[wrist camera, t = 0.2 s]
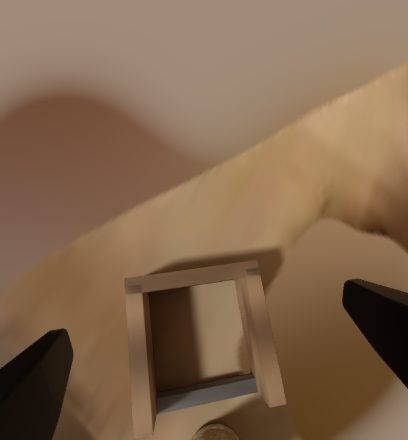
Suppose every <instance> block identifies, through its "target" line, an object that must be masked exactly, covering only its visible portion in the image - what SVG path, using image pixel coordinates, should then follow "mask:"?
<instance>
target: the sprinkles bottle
mask: <svg viewBox="0 0 408 440" xmlns="http://www.w3.org/2000/svg"><path fill="white" fill-rule="evenodd" d="M192 440H239V438H238V436H237V435H236V434H235V433H234V432H233V431H232V430H231V429H230V428H228V427H227V426H224V425H222V424H210V425H208V426H205V427H203V428H202V429H200V430H199V431H198V432H197V433H196V434H195V435H194V437H193V438H192Z"/></svg>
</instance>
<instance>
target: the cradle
mask: <svg viewBox="0 0 408 440" xmlns="http://www.w3.org/2000/svg"><path fill="white" fill-rule="evenodd" d="M124 280H125V297H126V313H127V330H128V347H129V364H130V380H131V397H132V414H133V430H134V439H137V438H141V437H146V436H150V435H153V432H154V426H155V421H156V415H157V414H160V413H165V412H169V411H174V410H178V409H183V408H187V407H192V406H197V405H201V404H206V403H210V402H215V401H219V400H224V399H229V398H233V397H238V396H242V395H247V394H251V393H256V392H258V393H259V394H260V395H261V397H262V398H263V399H264V400H265V402H266V403H267V404H268V405H269V407H270V408H272V407H276V406H280V405H285V404H287V403H286V399H285V394H284V389H283V384H282V379H281V374H280V369H279V365H278V360H277V355H276V350H275V345H274V340H273V336H272V330H271V325H270V320H269V315H268V311H267V306H266V301H265V296H264V291H263V286H262V281H261V276H260V272H259V267H258V262H257V260H252V261H245V262H238V263H231V264H224V265H217V266H209V267H202V268H195V269H188V270H181V271H174V272H167V273H160V274H153V275H146V276H139V277H132V278H125V279H124ZM228 280H235V285H236V291H237V296H238V302H239V308H240V313H241V319H242V325H243V330H244V336H245V342H246V347H247V353H248V359H249V364H250V370H251V373H250V374H246V375H241V376H236V377H231V378H226V379H221V380H217V381H212V382H207V383H202V384H197V385H193V386H188V387H183V388H178V389H173V390H168V391H164V392H159V393H157V390H156V378H155V366H154V355H153V343H152V331H151V319H150V307H149V295H148V293H149V292H156V291H162V290H169V289H175V288H182V287H189V286H195V285H202V284H208V283H215V282H222V281H228Z"/></svg>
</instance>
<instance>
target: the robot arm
mask: <svg viewBox="0 0 408 440" xmlns="http://www.w3.org/2000/svg"><path fill="white" fill-rule="evenodd" d="M342 302H343V306H344V308H345V310H346V311H347V313H348V314H349V316H350V317H351V318H352V320H353V321H354V322H355V324H356V325H357V326H358V328H359V329H360V331H361V332H362V333H363V334H364V336H365V338H366V339H367V340H368V342H369V343H370V344H371V346H372V347H373V348H374V350H375V351H376V352H377V353H378V355H379V356H380V357H381V358H382V359H383V360H384V362H385V363H386V364H387V365H388V366H389V367H390V369H391V370H392V371H393V372H394V373H395V374H396V376H397V377H398V378H399V379H400V380H401V381H402V383H403V384H404V385H405V386H406V387H407V388H408V293H406V292H403V291H399V290H395V289H392V288H389V287H385V286H382V285H378V284H374V283H371V282H367V281H364V280H361V279H352V280H347V281H346V282H345V283H344V289H343V298H342ZM72 361H73V349H72V345H71V342H70V338H69V335H68V332H67V330H66V329H64V328H63V329H57V330H51V331H49V332H47V333H46V334H45V335H43V336H42V337H41V338H40V339H38V340H37V341H36V342H34V343H33V344H32V345H31V346H29V347H28V348H27V349H25V350H24V351H23V352H21V353H20V354H19V355H18V356H16V357H15V358H14V359H12V360H11V361H10V362H8V363H7V364H6V365H5V366H3V367H2V368H1V369H0V440H52V438H53V435H54V432H55V429H56V426H57V423H58V419H59V416H60V412H61V408H62V404H63V400H64V396H65V391H66V387H67V383H68V378H69V374H70V369H71V365H72Z"/></svg>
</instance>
